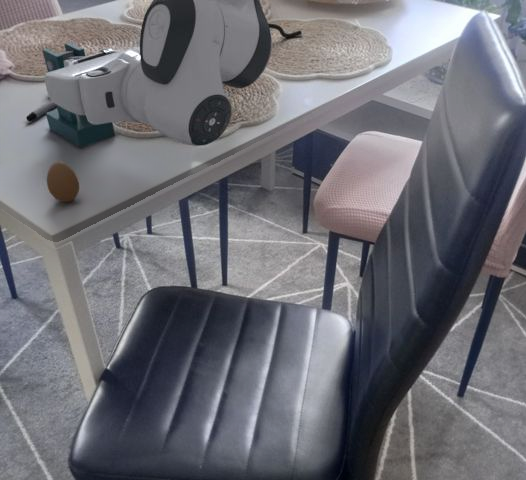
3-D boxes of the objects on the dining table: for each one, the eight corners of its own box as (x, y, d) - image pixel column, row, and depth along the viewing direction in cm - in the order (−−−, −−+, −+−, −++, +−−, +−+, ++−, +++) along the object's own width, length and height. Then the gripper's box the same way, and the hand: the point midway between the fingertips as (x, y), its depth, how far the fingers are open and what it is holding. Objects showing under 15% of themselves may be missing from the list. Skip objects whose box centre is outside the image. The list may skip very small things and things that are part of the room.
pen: (25, 120, 108) (25, 114, 107) (78, 87, 119) (78, 81, 118) (31, 123, 108) (31, 117, 107) (83, 90, 119) (84, 84, 118)
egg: (72, 210, 87) (62, 173, 83) (46, 205, 88) (35, 168, 84) (88, 195, 90) (79, 158, 86) (62, 190, 91) (52, 153, 87)
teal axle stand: (114, 134, 104) (99, 51, 95) (80, 148, 101) (60, 63, 91) (83, 117, 109) (65, 36, 100) (49, 129, 106) (27, 46, 96)
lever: (107, 64, 93) (102, 47, 91) (80, 72, 90) (74, 55, 89) (77, 64, 99) (72, 49, 98) (51, 73, 97) (45, 57, 96)
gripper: (194, 44, 88) (138, 22, 95) (73, 82, 78) (20, 54, 85) (197, 88, 92) (143, 63, 99) (83, 129, 82) (32, 98, 89)
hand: (86, 59), depth 92 cm, fingers closed on lever, 5 cm apart
